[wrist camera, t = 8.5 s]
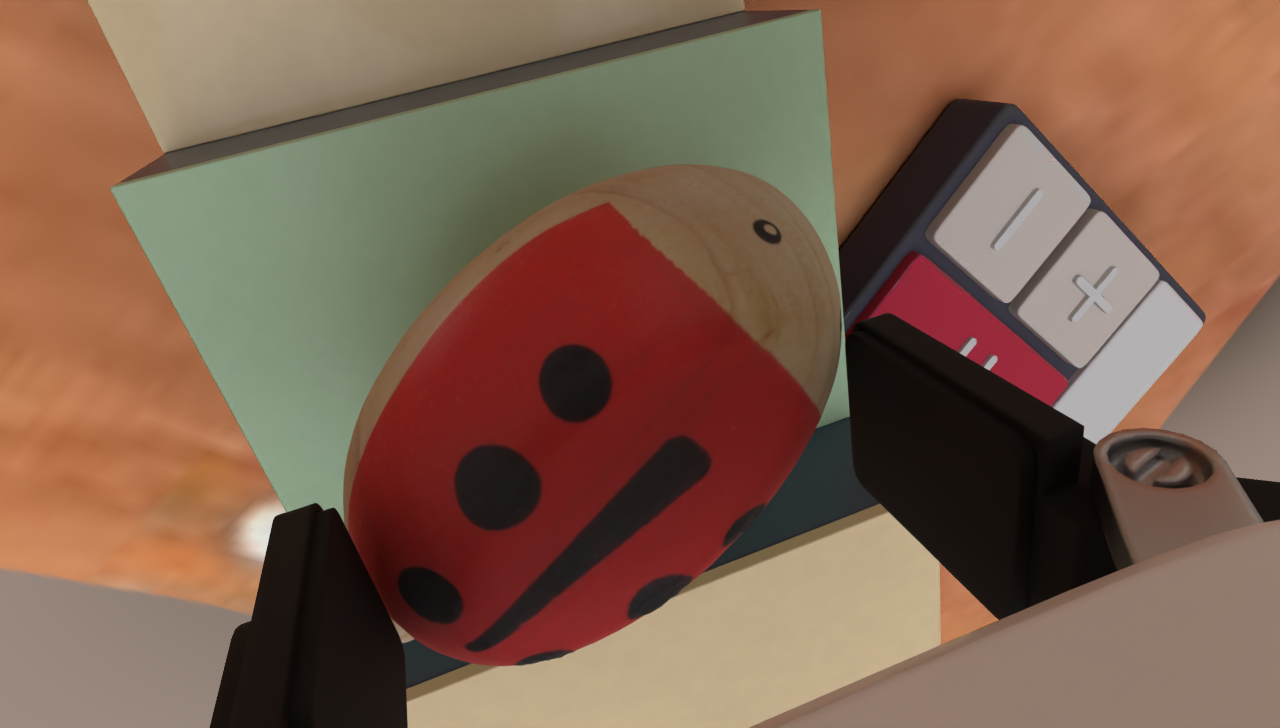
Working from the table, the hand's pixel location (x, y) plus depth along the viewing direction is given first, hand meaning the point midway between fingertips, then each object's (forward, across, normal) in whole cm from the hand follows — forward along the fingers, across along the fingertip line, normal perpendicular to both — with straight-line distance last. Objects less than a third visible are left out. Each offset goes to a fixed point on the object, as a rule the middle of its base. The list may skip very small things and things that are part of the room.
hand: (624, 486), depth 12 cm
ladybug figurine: (+3, 0, 0) cm, 3 cm away
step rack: (+15, 0, 0) cm, 15 cm away
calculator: (+15, -18, +9) cm, 25 cm away
